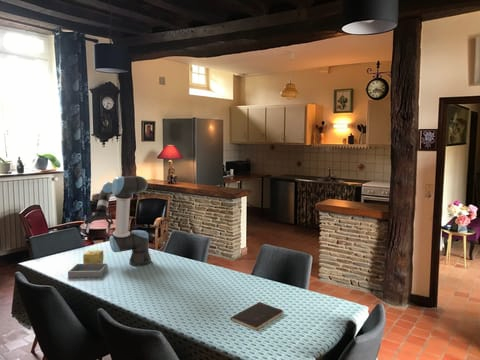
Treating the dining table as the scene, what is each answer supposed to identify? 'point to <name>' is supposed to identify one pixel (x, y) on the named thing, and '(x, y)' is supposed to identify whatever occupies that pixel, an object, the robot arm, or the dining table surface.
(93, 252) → the cheese
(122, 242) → the robot arm
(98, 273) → the bin
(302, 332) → the dining table surface
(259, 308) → the hardcover book
